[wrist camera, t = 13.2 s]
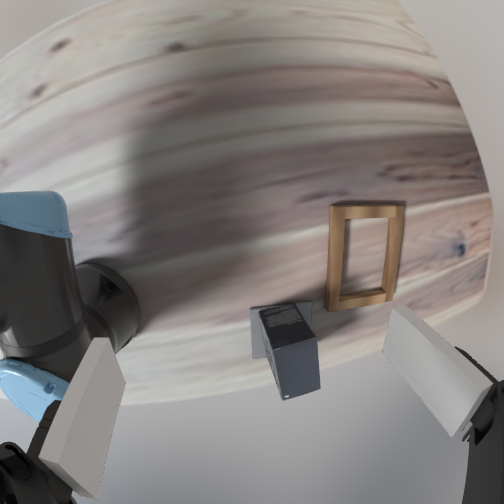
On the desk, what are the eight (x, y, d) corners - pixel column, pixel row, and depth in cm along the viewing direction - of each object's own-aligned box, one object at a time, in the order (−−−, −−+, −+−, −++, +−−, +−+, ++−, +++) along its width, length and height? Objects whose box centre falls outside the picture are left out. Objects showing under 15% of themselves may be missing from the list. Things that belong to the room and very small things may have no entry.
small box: (303, 350, 47) (322, 390, 37) (267, 360, 46) (280, 402, 36) (296, 300, 43) (319, 337, 34) (256, 310, 43) (269, 351, 33)
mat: (252, 357, 46) (252, 359, 46) (250, 308, 43) (250, 310, 43) (307, 349, 48) (308, 351, 47) (311, 301, 45) (312, 302, 44)
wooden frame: (324, 307, 45) (328, 312, 44) (329, 205, 40) (334, 207, 38) (387, 296, 47) (392, 300, 45) (397, 204, 42) (404, 206, 40)
